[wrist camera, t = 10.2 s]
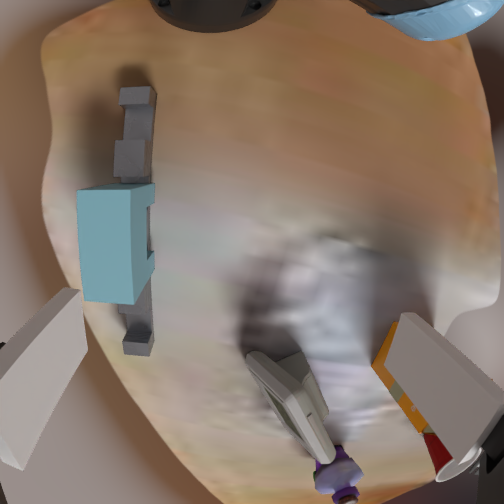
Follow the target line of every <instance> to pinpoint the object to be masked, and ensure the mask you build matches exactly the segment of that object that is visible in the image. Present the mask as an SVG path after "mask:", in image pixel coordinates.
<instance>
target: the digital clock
mask: <svg viewBox="0 0 504 504" xmlns="http://www.w3.org/2000/svg"><path fill="white" fill-rule="evenodd" d="M245 364H246V366H247V368H248V369H249V371H250V373H251V375H252V376H253V378H254V380H255V381H256V383H257V384H258V386H259V388H260V389H261V391H262V393H263V394H264V396H265V398H266V399H267V401H268V402H269V404H270V406H271V407H272V409H273V410H274V412H275V414H276V415H277V417H278V418H279V420H280V421H281V423H282V424H283V426H284V427H285V428H286V430H287V431H288V432H289V433H290V434H291V435H292V436H293V437H294V438H295V439H296V440H297V441H298V442H299V443H300V444H301V445H302V446H303V447H304V448H305V449H306V450H307V451H308V452H309V453H310V454H311V455H312V456H313V457H314V458H315V459H316V460H317V461H319V462H320V463H321V464H329V463H331V462H332V461H333V460H334V459H335V456H336V450H335V448H334V446H333V444H332V442H331V440H330V438H329V436H328V434H327V432H326V429H325V427H324V425H323V421H324V419H325V418H326V417H327V415H328V414H329V410H328V407H327V405H326V403H325V400H324V398H323V396H322V393H321V391H320V389H319V387H318V384H317V382H316V380H315V378H314V375H313V373H312V371H311V369H310V366H309V364H308V362H307V360H306V358H305V356H304V353H303V352H302V351H300V352H297V353H295V354H293V355H291V356H288V357H286V358H284V359H281V360H279V361H277V362H274V361H272V360H271V359H270V358H269V357H268V356H266V355H265V354H264V353H263V352H260V351H251V352H249V353H248V354H247V356H246V360H245Z"/></svg>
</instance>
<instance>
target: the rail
mask: <svg viewBox="0 0 504 504" xmlns="http://www.w3.org/2000/svg"><path fill="white" fill-rule="evenodd" d="M156 100H157V94H156V92H155V91H154V90H153V89H152V88H151V86H143V87H125V88H120V96H119V104H118V105H120V106H121V107H123V108H124V109H126V112H125V122H124V134H123V140H115V151H114V173H113V177H121V183H151V163H152V147H153V133H154V121H155V110H156ZM147 251H150V206H148V207H147ZM118 311H119V313H122V314H126V321H127V330H128V331H127V333H126V335H125V337H124V339H123V341H122V343H123V350H124V354H127V355H138V356H150V353H151V350H152V347H153V343H154V329H153V315H152V298H151V276H150V278H149V279H148V281H147V283H146V285H145V286H144V288H143V290H142V292H141V293H140V295H139V297H138V299H137V301H136V302H135V304H134V305H130V304H118Z"/></svg>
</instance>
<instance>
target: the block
mask: <svg viewBox="0 0 504 504" xmlns="http://www.w3.org/2000/svg"><path fill="white" fill-rule="evenodd" d="M154 193H155V183H112V184H107V185H101V186H96V187H91V188H86V189H81V190H77V225H78V243H79V257H80V268H81V278H82V286H83V294H84V301H92V302H104V303H116V304H130V305H134V304H135V302H136V301H137V299H138V297H139V295H140V293H141V292H142V290H143V288H144V286H145V285H146V283H147V281H148V279H149V278H150V276H151V274H152V273H153V271H154V269H155V268H154V251H147V207H148V206H150V205H152V204H153V203H154Z"/></svg>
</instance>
